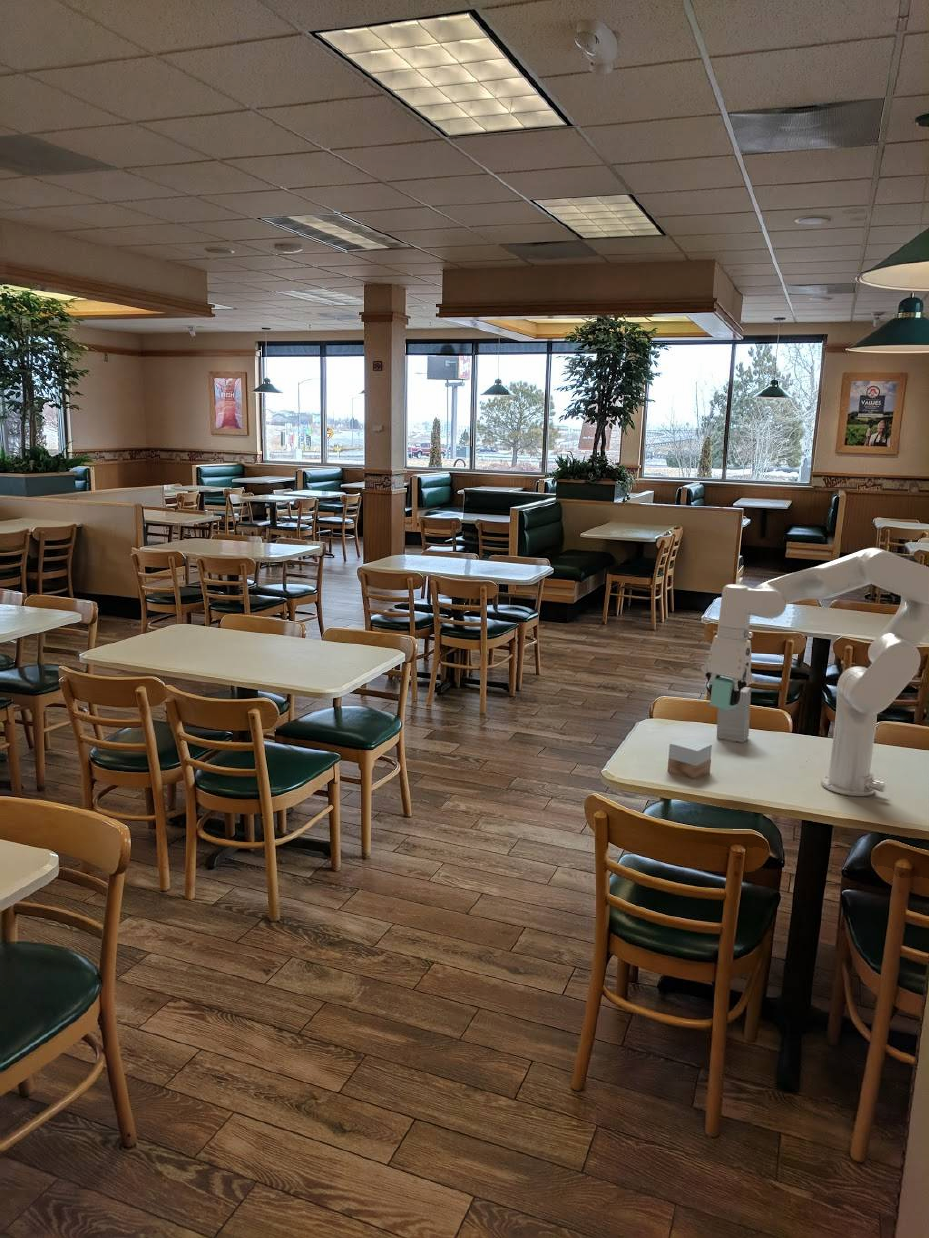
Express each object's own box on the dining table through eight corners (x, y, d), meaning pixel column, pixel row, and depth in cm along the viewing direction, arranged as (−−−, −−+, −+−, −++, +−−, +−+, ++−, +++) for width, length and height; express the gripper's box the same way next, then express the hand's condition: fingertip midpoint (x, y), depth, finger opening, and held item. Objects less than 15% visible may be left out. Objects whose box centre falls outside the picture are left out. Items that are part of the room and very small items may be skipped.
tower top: (710, 758, 235) (712, 744, 235) (696, 765, 230) (697, 751, 229) (683, 751, 241) (684, 737, 240) (668, 758, 235) (669, 743, 234)
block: (736, 706, 230) (740, 680, 229) (727, 709, 227) (730, 683, 226) (719, 702, 234) (722, 676, 233) (709, 705, 230) (713, 679, 229)
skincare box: (748, 738, 267) (753, 687, 264) (742, 744, 261) (748, 692, 258) (720, 733, 271) (725, 682, 268) (713, 738, 265) (718, 687, 262)
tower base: (709, 773, 236) (711, 759, 235) (694, 780, 230) (695, 765, 230) (682, 765, 241) (684, 751, 241) (667, 772, 236) (668, 757, 235)
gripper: (770, 638, 224) (761, 707, 227) (709, 625, 235) (701, 692, 239) (757, 641, 218) (747, 712, 222) (695, 628, 230) (687, 696, 233)
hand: (723, 701), depth 230 cm, fingers closed on block, 5 cm apart
